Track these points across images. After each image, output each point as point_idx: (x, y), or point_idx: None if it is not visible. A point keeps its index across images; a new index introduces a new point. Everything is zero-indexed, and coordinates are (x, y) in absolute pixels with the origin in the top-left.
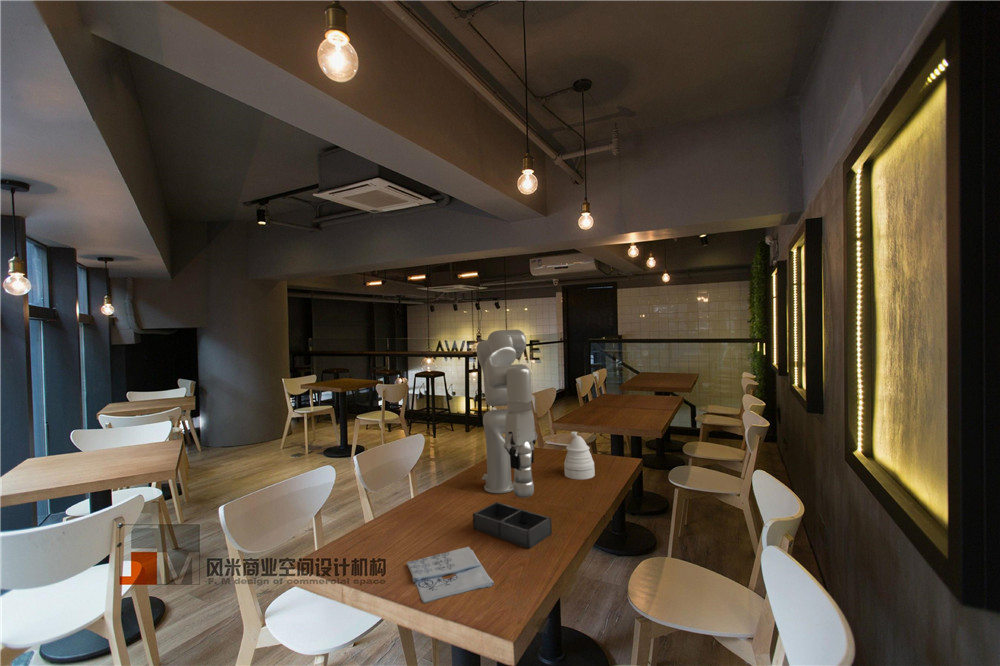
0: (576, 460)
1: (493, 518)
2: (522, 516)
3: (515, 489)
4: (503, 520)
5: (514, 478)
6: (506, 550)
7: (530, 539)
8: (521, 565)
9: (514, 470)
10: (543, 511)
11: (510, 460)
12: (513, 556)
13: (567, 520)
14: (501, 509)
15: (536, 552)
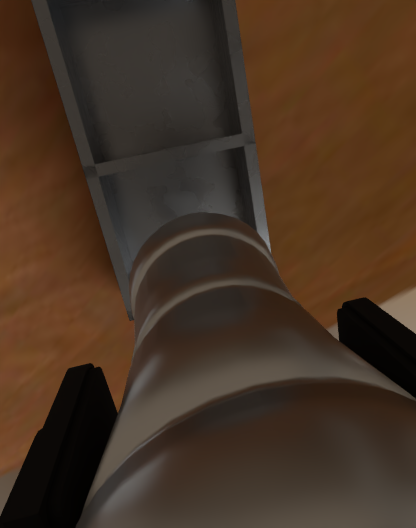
0: None
1: (168, 4)
2: (238, 148)
3: (129, 290)
4: (110, 172)
5: (140, 292)
6: (68, 254)
7: None
8: (56, 349)
9: (147, 315)
10: (384, 100)
11: (43, 432)
12: (65, 297)
13: (372, 227)
14: (217, 4)
15: None
